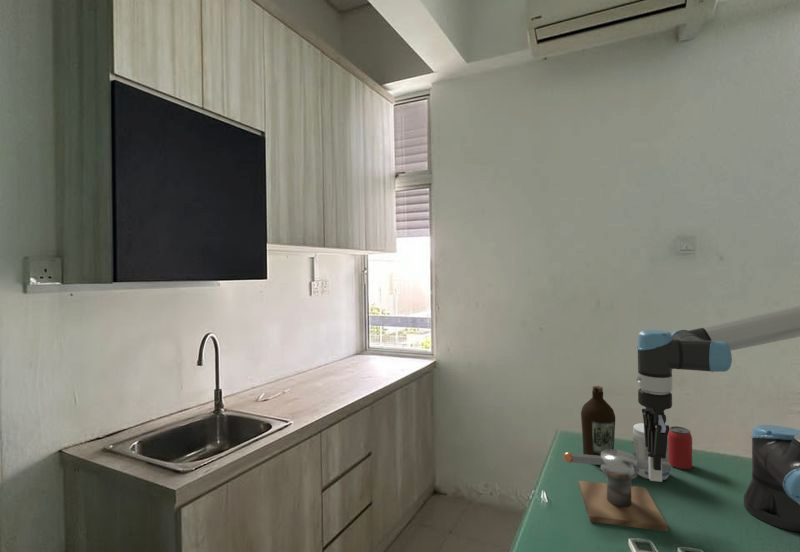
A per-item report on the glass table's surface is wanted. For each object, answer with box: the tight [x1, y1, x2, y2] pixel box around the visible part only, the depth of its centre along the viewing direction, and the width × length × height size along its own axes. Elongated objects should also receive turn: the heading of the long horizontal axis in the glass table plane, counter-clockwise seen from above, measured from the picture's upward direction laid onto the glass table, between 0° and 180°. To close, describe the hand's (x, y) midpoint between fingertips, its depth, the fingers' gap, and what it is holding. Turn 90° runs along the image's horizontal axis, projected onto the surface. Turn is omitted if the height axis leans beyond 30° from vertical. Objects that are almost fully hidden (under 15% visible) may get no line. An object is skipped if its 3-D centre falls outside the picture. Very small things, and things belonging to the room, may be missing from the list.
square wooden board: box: [578, 474, 669, 532], centre depth 115 cm, size 18×18×10 cm
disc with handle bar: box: [562, 448, 672, 480], centre depth 115 cm, size 27×9×4 cm, turn 75°
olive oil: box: [580, 385, 616, 456], centre depth 141 cm, size 11×11×25 cm
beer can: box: [668, 425, 693, 470], centre depth 136 cm, size 7×7×12 cm
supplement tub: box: [632, 422, 670, 481], centre depth 131 cm, size 10×10×15 cm
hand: (655, 479), depth 108 cm, fingers closed
